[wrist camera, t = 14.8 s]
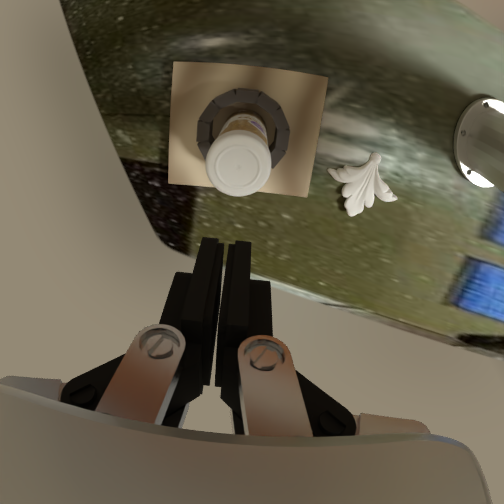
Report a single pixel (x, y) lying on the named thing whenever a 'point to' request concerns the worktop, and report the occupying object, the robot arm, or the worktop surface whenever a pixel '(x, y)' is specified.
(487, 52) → the worktop surface
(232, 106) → the socket board
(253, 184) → the sprinkles bottle
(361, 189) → the acanthus leaf ornament
